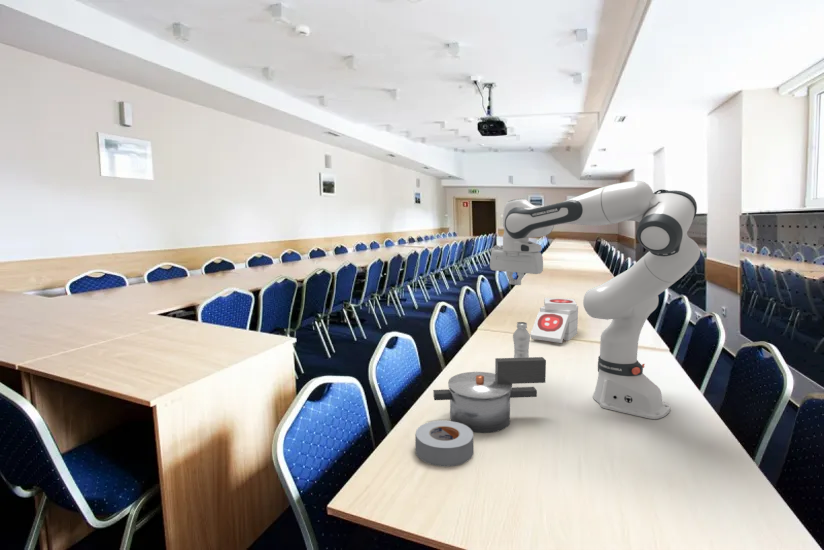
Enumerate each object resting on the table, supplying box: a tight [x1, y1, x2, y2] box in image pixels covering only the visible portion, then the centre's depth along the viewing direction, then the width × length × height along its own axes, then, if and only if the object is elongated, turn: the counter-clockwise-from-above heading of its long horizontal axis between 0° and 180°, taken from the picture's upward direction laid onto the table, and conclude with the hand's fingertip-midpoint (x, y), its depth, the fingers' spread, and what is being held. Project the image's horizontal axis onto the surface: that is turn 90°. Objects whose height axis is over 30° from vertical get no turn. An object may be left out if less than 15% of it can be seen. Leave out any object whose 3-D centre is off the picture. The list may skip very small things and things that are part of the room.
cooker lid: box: [448, 356, 547, 400], centre depth 131 cm, size 29×19×8 cm, turn 92°
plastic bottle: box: [512, 321, 531, 358], centre depth 170 cm, size 6×7×20 cm
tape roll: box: [414, 419, 474, 467], centre depth 115 cm, size 15×15×5 cm
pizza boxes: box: [529, 297, 579, 344], centre depth 219 cm, size 19×30×18 cm, turn 144°
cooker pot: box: [432, 386, 538, 434], centre depth 132 cm, size 31×18×10 cm, turn 92°
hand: (515, 284), depth 155 cm, fingers closed
